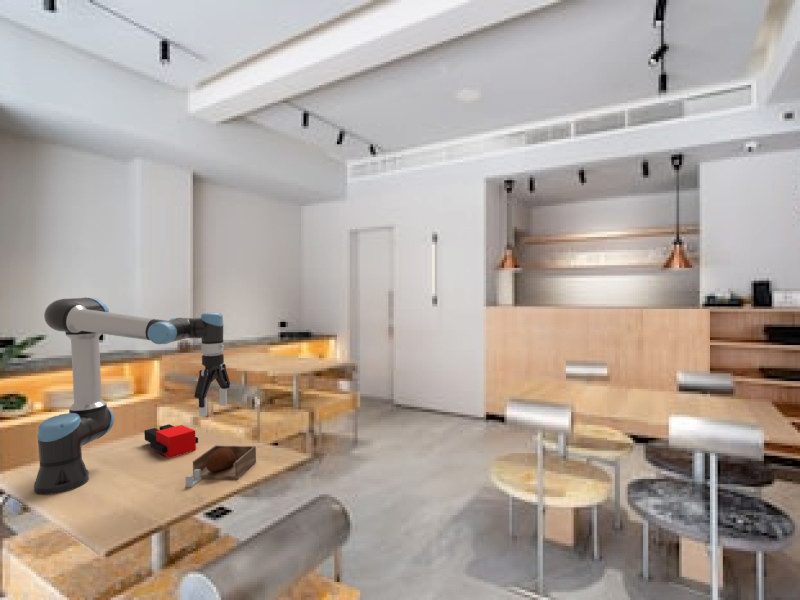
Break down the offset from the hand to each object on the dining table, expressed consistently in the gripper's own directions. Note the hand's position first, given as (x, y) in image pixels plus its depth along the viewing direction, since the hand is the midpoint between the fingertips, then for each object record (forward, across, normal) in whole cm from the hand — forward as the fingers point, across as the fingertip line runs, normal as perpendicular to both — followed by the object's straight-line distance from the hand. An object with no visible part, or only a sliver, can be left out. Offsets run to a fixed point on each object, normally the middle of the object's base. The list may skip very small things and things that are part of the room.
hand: (213, 410), depth 164 cm
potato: (+20, -4, -6) cm, 22 cm away
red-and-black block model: (+22, +18, +31) cm, 42 cm away
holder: (+22, -2, -6) cm, 22 cm away
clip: (+22, -13, 0) cm, 25 cm away
